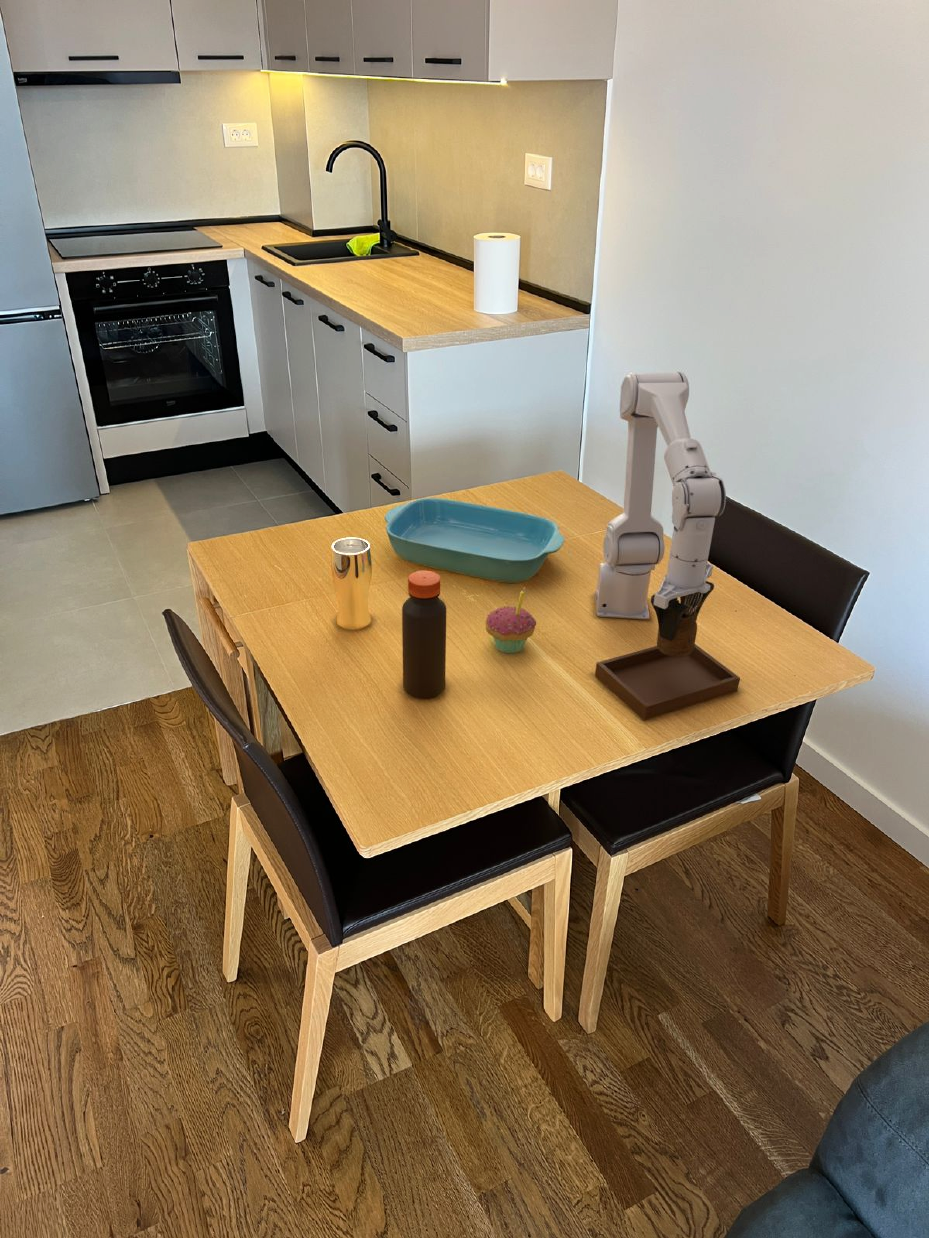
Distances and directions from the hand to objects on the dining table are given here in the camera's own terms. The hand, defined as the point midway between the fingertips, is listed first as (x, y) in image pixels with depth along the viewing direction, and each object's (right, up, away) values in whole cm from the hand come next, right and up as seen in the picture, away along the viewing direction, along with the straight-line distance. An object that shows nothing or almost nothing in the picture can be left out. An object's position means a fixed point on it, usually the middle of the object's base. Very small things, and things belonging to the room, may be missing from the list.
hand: (676, 630), depth 149 cm
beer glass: (-53, +1, +19) cm, 57 cm away
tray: (-1, -9, +5) cm, 10 cm away
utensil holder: (0, -3, +2) cm, 4 cm away
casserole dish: (-32, +14, +42) cm, 55 cm away
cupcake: (-26, -3, +13) cm, 29 cm away
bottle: (-40, -9, +2) cm, 41 cm away
